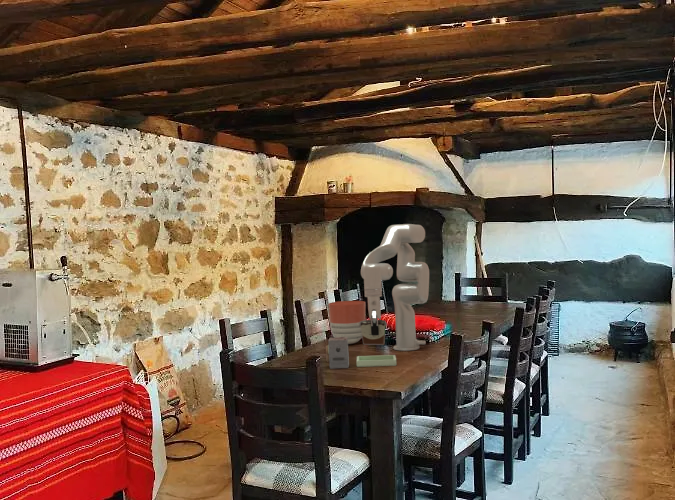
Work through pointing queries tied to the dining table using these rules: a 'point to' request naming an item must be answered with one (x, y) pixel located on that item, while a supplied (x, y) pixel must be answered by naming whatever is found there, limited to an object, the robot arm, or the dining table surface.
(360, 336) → the planter
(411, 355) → the dining table surface
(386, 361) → the tray
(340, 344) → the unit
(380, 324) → the food container
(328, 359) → the walnut cartridge
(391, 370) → the dining table surface
